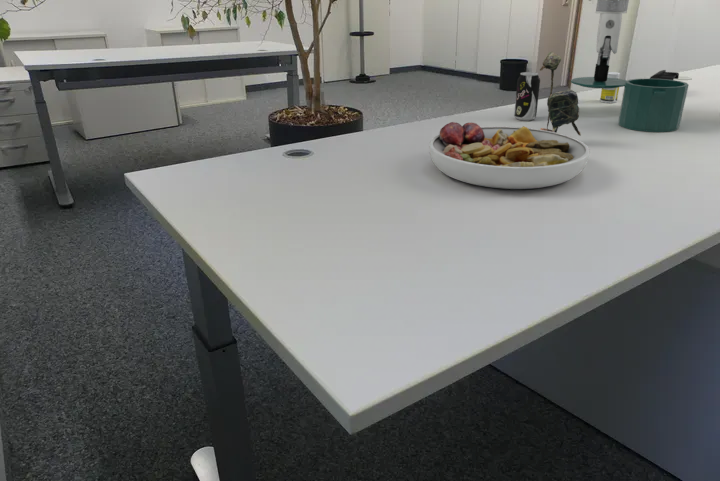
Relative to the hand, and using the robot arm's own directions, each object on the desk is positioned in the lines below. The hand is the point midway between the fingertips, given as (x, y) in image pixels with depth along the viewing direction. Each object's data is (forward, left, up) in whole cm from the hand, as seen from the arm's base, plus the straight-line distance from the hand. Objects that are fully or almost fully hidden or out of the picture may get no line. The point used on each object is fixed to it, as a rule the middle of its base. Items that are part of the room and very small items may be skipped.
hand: (600, 79), depth 150 cm
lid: (0, 0, -1) cm, 1 cm away
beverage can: (+18, +14, -9) cm, 24 cm away
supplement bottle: (-4, -16, -9) cm, 19 cm away
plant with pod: (+10, +37, -9) cm, 39 cm away
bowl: (+18, +60, -9) cm, 63 cm away
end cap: (-20, -33, -9) cm, 40 cm away
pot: (-12, +14, -9) cm, 21 cm away
